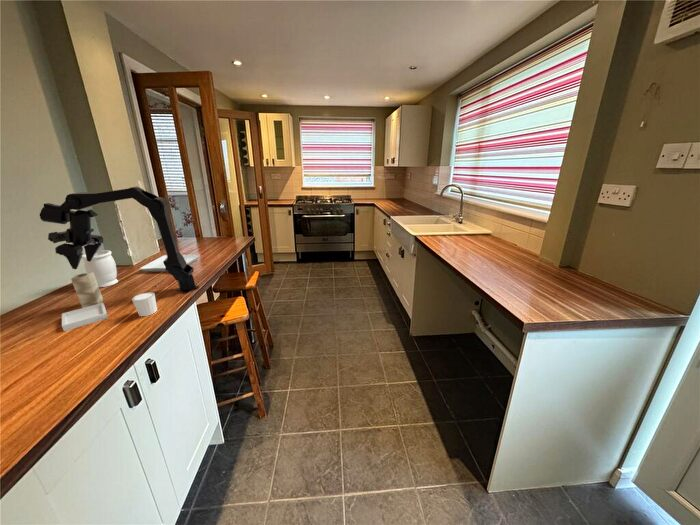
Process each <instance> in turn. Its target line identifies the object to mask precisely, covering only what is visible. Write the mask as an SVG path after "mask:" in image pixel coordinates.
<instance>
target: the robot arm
mask: <svg viewBox="0 0 700 525" xmlns="http://www.w3.org/2000/svg"><path fill="white" fill-rule="evenodd" d="M64 199H65V200H64V202H63V203H62V204H54V203H52V202H51V203H50V202H47V203H43V207H42V208H41V210H40V212H39V218H40V220H41V221H42V222H43V223H53V224H58V225H66V224H67V223H69V228H67V229H66V230H65V231H54V232H53V231H52V232H48V235H47V240H48V241H49V242H51V243H53V244H57V243H60V242H65V243H62V244H59V245H57V246H55V250H54V251H55V254H58V255H60V256H63V257H65V258H66V259H67V261H68V264H70V266H71V268H72V270H77V269H78V268H79V265H80V262H81V260H82V255H84V254H86V259H87V261H91V260H92V258H93V257H94V255H95V253H96V252H97V251H99V249H100V248H101V246H102V244H103V243H104V237H103V236H101V235H99V234H98V235H97V234H92V233H94V231H95V230H94V228H92V224H91V223H92V221H91V220H92V218H94V217H98V216H99V214H98V213H97V212H95V211H94V210H93V209H92V208H91V207H94V206H97V205H100V204H102V203H109V202H115V201H123V200H129V199H133V200H135V201H136V202H138V203H139V204H140V205H141V206H143V207H145V208H147V210H148V212H149V213H150V215H151V216H150V217H152V218H153V219H154V220H155V222H156V223H157V227H158V230H159V233H160V236H161V239H162V243H163V247H164V249H165V252H166V255H167V259H165V260H164V261H163V263H164V265H165V267H166V271H165V272H167V273H168V274H169V275H171V276H172V277H173V278H174V280H175V281H177V283H178V287H179V288H177V289H176V292H179V293H183V294H188V293H190V292H192V291H194V290H196V289H198V288H200V287H199V285H196V283H195V278H194V275H193V273H194V267H193V266H191V264H189V265H188V264H187V263H186V261H185V259H184V257H183V256H182V255H183V254H181V253H180V251H179V250H180V249H179V247H178V243H177V240H176V237H175V236H176V235H175V233H174V230H173V226H172V223H171V219H170V218H171V206H170V202H169V200H168V199H166V198H165V197H161V196H158V195H155V194H154V193H151V192H149V191H147V190H144V189H143V188H141V187H139V186H131V187H128V188H122V189H116V190H108V191H102V192H96V191H95V192H91V191H86V192H85V191H82V192H81V191H80V192H73V193H69V194H67V195H66V197H65V198H64ZM87 208H91V209H88V210H83V209H87ZM75 210H76V211H75ZM83 250H84V251H85V252H84V251H83ZM83 252H84V253H83ZM167 270H168V271H167Z"/></svg>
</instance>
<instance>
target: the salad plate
mask: <svg viewBox="0 0 700 525" xmlns="http://www.w3.org/2000/svg"><path fill="white" fill-rule="evenodd" d="M181 255H182V256H183V257H184V259H185V261H186V263H187V264H188V265H191V264H192V263H194V262H195V261H197V260H198V259H200V258H201V254H181ZM165 259H167V254H164V255H162V256H160V257H158V258H156V259H154V260H153V261H151V262H149V263H146V264H145V265H143V266H141V267H140V268H139V270H141V271H143V272H155V273H156V272H159V273H160V272H168V270H167V271H166V267H165V265H164V263H163V261H164V260H165Z"/></svg>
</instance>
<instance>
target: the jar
mask: <svg viewBox="0 0 700 525" xmlns="http://www.w3.org/2000/svg"><path fill="white" fill-rule="evenodd" d="M82 259H83V263H84V268H85V271H86V273H90V272H93V273H94V275H95V278H96V281H97V284H98V287H99V288H105V287H110V286H113V285H116V284H117V283H118V282H119V280H118V279H117V277H118V270H117V264H116V261H115V259H114V257H113V256H112V251H111V250H97V252H96V253H95V255H94V257H93V258H92V260H91V261H87V259H86V254H85V253H83V255H82V258H81V260H82Z"/></svg>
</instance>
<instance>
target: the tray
mask: <svg viewBox="0 0 700 525" xmlns="http://www.w3.org/2000/svg"><path fill="white" fill-rule="evenodd" d="M107 319H109V316H108V312H107V309H106V307H105V303H104V302H101V303H100V304H96V305H93V306H89V307H85V308H82V307H81V308H79V309H78V308H77V309H73V310H70V311H67V312H62V313H61V328H62V330H63V331H64V332H67V331H70V330H73V329H76V328H80V327H83V326H84V327H85V326H86V325H90V324H94V323H97V322H100V321H103V320H107Z"/></svg>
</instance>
